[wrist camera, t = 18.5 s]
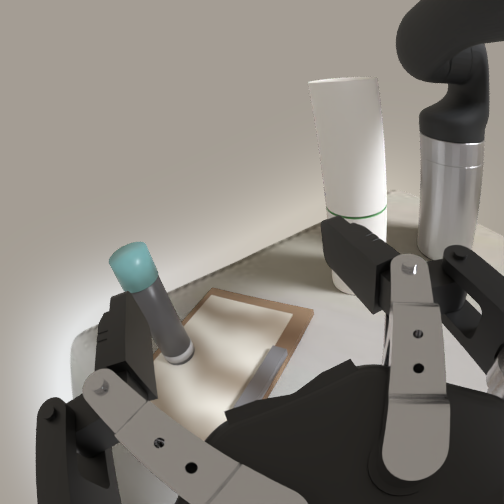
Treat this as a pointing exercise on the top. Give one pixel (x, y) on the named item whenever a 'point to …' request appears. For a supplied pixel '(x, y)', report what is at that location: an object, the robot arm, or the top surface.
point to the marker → (152, 301)
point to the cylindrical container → (351, 152)
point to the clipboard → (228, 358)
